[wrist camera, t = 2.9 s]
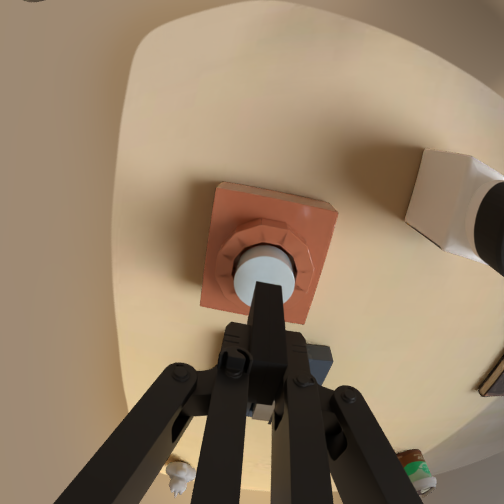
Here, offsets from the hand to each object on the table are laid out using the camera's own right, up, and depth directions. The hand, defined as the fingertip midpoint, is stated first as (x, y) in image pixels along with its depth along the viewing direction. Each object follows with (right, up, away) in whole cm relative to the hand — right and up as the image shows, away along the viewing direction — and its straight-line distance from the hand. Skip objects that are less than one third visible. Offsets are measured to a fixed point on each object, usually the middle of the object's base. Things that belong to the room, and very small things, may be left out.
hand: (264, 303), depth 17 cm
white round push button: (0, +2, +4) cm, 4 cm away
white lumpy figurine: (-13, -35, +25) cm, 45 cm away
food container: (+31, -37, +23) cm, 53 cm away
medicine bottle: (+17, +8, +5) cm, 20 cm away
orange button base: (0, +3, +8) cm, 9 cm away
